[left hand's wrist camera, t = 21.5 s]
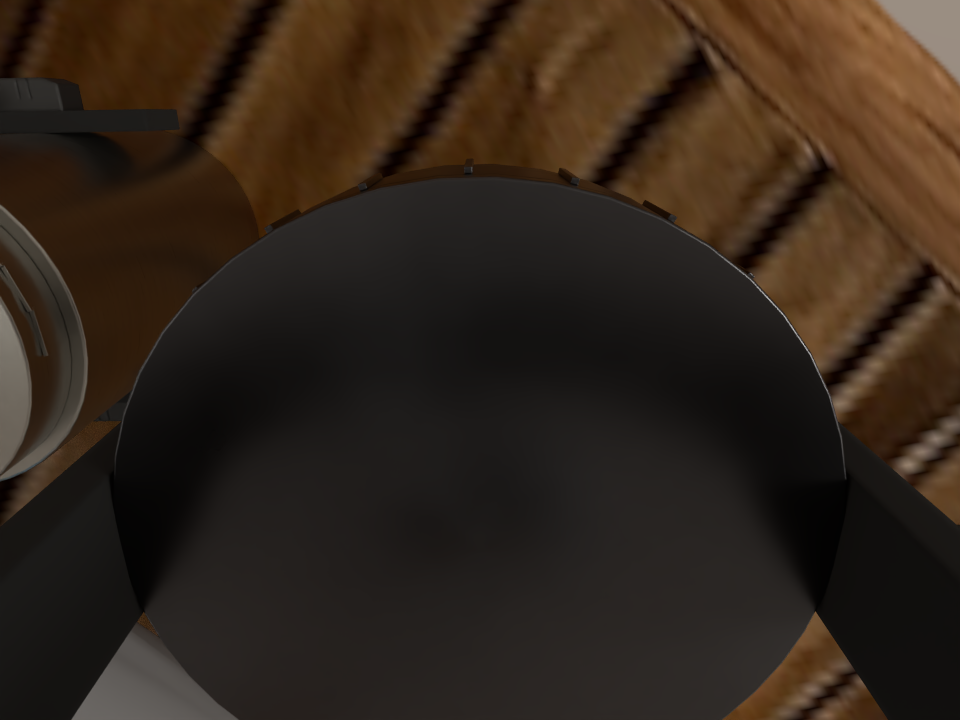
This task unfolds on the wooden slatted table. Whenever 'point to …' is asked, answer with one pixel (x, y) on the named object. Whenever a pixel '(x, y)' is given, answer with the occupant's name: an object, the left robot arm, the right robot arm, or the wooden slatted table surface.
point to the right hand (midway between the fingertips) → (188, 260)
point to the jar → (98, 270)
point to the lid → (479, 463)
